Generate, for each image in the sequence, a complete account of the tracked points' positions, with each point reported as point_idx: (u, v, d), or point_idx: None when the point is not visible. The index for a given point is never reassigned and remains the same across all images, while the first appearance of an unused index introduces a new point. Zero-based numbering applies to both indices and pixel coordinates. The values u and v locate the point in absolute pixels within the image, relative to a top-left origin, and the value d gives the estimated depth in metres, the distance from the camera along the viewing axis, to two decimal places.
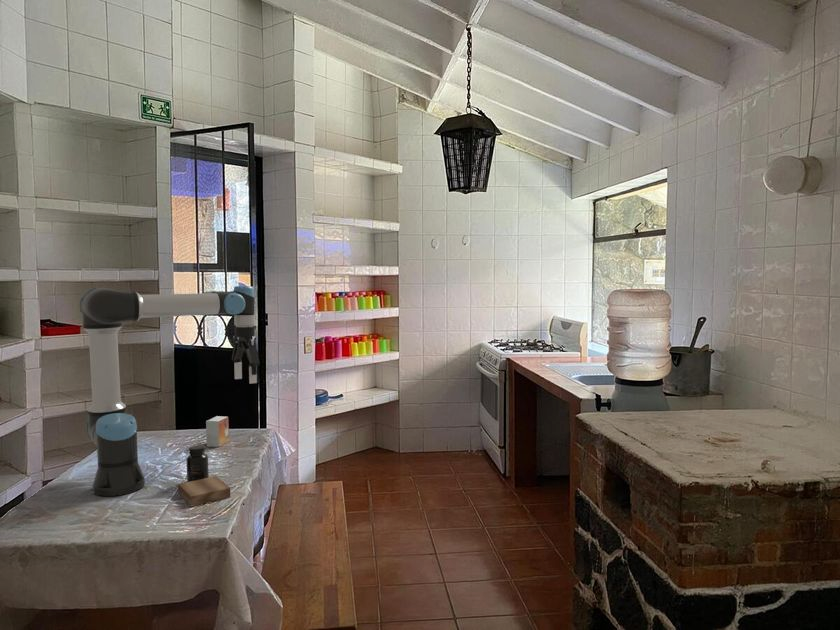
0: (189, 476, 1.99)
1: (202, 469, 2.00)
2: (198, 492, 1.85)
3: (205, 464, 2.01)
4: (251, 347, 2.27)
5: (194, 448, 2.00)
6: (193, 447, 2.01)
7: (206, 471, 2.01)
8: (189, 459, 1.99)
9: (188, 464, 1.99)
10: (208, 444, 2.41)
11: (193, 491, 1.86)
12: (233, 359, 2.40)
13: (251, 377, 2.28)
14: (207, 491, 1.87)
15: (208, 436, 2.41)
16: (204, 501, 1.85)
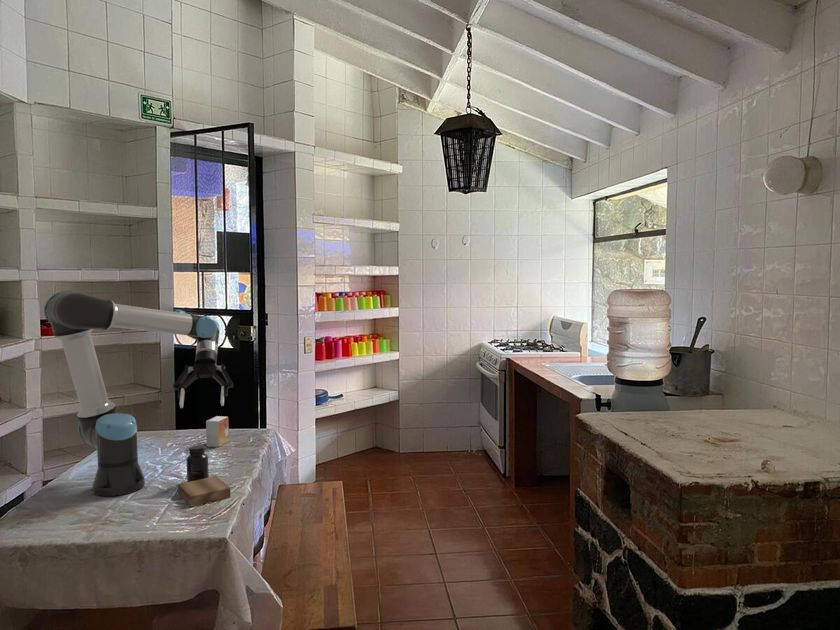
0: (189, 476, 1.99)
1: (202, 469, 2.00)
2: (198, 492, 1.85)
3: (206, 464, 2.01)
4: (225, 370, 2.21)
5: (194, 448, 2.00)
6: (193, 447, 2.01)
7: (206, 471, 2.01)
8: (189, 459, 1.99)
9: (188, 464, 1.99)
10: (208, 444, 2.41)
11: (193, 491, 1.86)
12: (176, 386, 2.14)
13: (223, 397, 2.14)
14: (207, 491, 1.87)
15: (208, 436, 2.41)
16: (204, 501, 1.85)
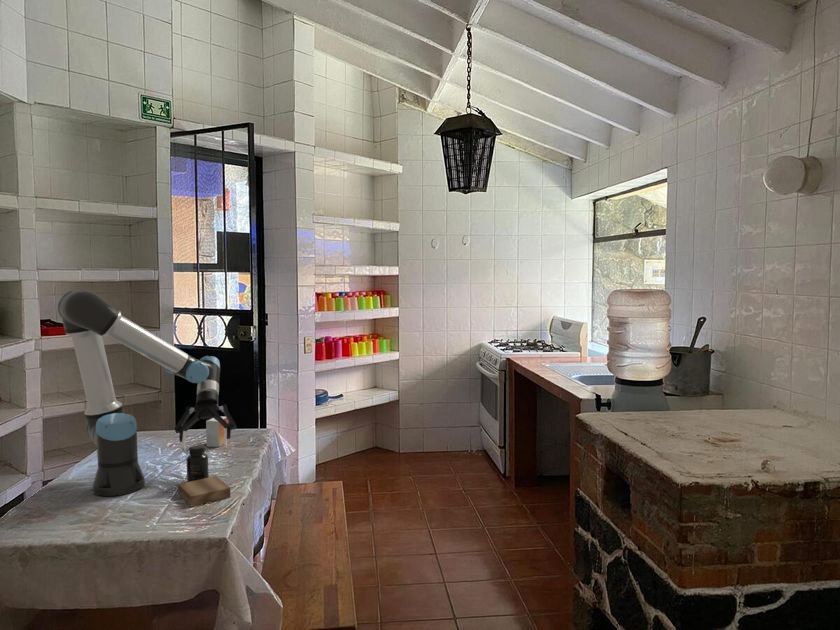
0: (189, 476, 1.99)
1: (202, 469, 2.00)
2: (198, 492, 1.85)
3: (206, 464, 2.01)
4: None
5: (194, 448, 2.00)
6: (193, 447, 2.01)
7: (206, 471, 2.01)
8: (189, 459, 1.99)
9: (188, 464, 1.99)
10: (208, 444, 2.41)
11: (193, 491, 1.86)
12: (177, 429, 2.09)
13: (226, 440, 2.10)
14: (207, 491, 1.87)
15: (208, 436, 2.41)
16: (204, 501, 1.85)
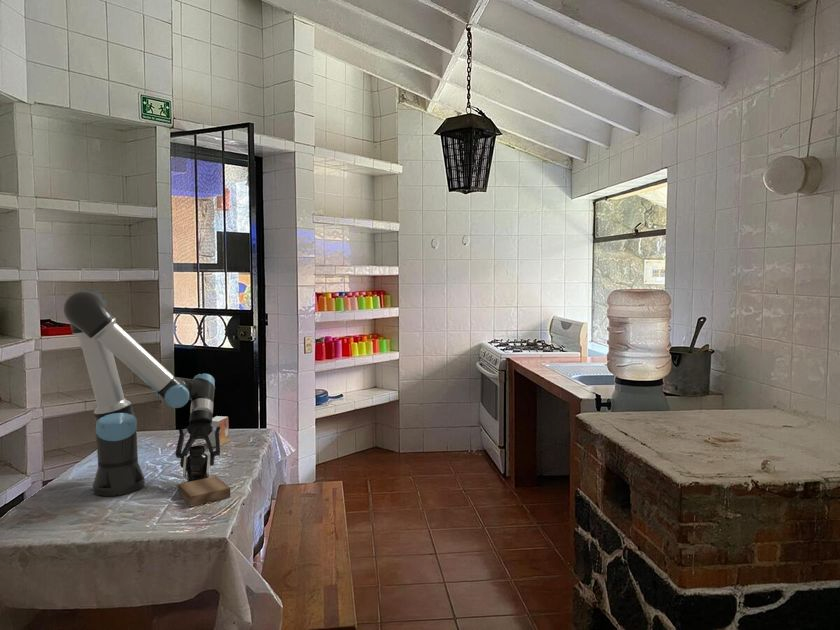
0: (189, 476, 1.99)
1: (202, 469, 2.00)
2: (198, 492, 1.85)
3: (205, 464, 2.01)
4: (218, 435, 2.08)
5: (194, 448, 2.00)
6: (193, 447, 2.01)
7: (206, 471, 2.01)
8: (189, 459, 1.99)
9: (188, 464, 1.99)
10: None
11: (193, 491, 1.86)
12: (178, 454, 2.01)
13: (209, 467, 2.00)
14: (207, 491, 1.87)
15: (208, 436, 2.41)
16: (204, 501, 1.85)
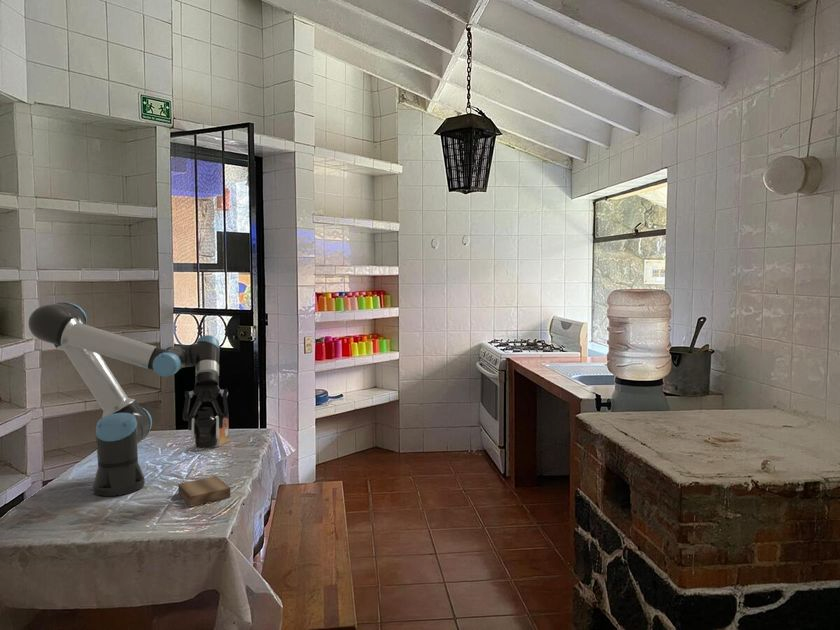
0: (197, 439, 1.92)
1: (211, 431, 1.93)
2: (198, 492, 1.85)
3: (214, 426, 1.94)
4: (226, 397, 2.01)
5: (202, 410, 1.93)
6: (201, 409, 1.94)
7: (215, 434, 1.94)
8: (197, 421, 1.92)
9: (196, 426, 1.92)
10: None
11: (193, 491, 1.86)
12: (186, 416, 1.94)
13: (218, 429, 1.93)
14: (207, 491, 1.87)
15: None
16: (204, 501, 1.85)
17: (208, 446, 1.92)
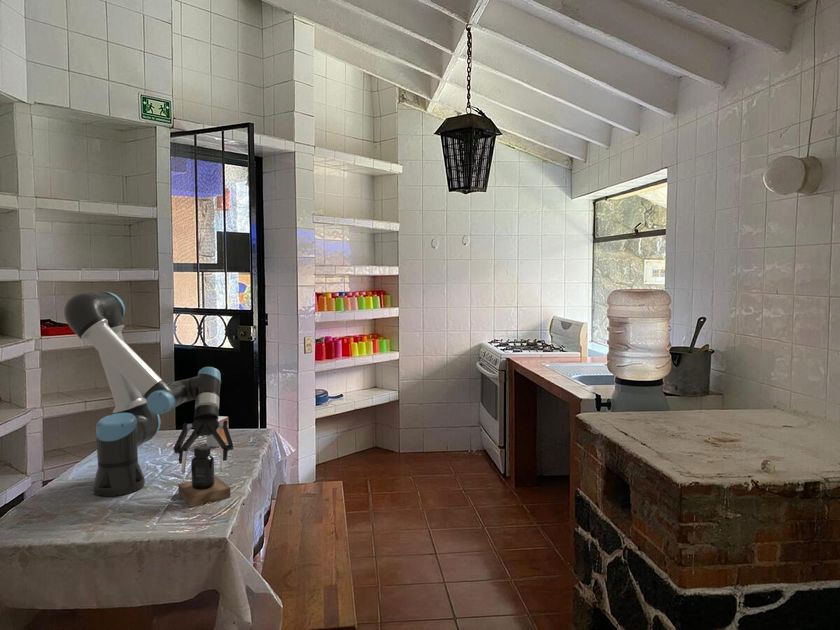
0: (194, 479, 1.88)
1: (208, 472, 1.88)
2: (198, 492, 1.85)
3: (211, 467, 1.90)
4: (227, 429, 1.97)
5: (199, 449, 1.89)
6: (198, 448, 1.90)
7: (212, 474, 1.90)
8: (194, 461, 1.88)
9: (193, 466, 1.88)
10: (208, 444, 2.41)
11: (193, 491, 1.86)
12: (177, 449, 1.90)
13: (222, 461, 1.90)
14: (207, 491, 1.87)
15: (208, 436, 2.41)
16: (204, 501, 1.85)
17: (204, 487, 1.88)
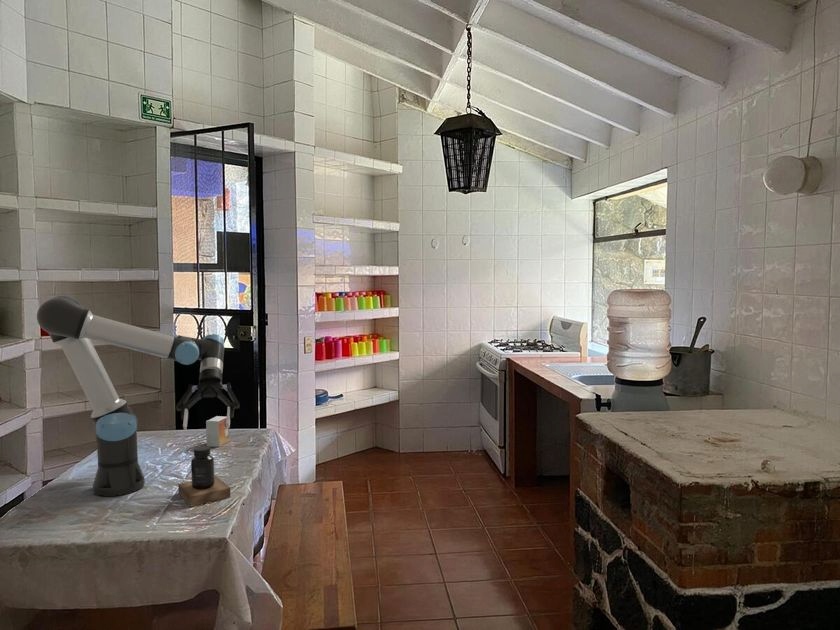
0: (194, 479, 1.88)
1: (208, 472, 1.88)
2: (198, 492, 1.85)
3: (211, 467, 1.90)
4: None
5: (199, 449, 1.89)
6: (198, 448, 1.90)
7: (212, 474, 1.90)
8: (194, 461, 1.88)
9: (193, 466, 1.88)
10: (208, 444, 2.41)
11: (193, 491, 1.86)
12: (179, 406, 2.02)
13: (229, 418, 2.02)
14: (207, 491, 1.87)
15: (208, 436, 2.41)
16: (204, 501, 1.85)
17: (204, 487, 1.88)
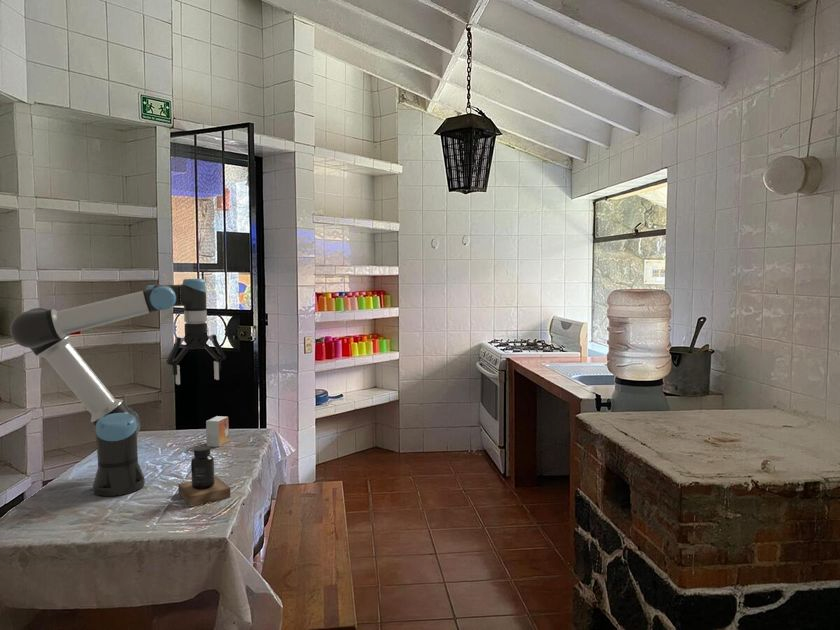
0: (194, 479, 1.88)
1: (208, 472, 1.88)
2: (198, 492, 1.85)
3: (211, 467, 1.90)
4: None
5: (199, 449, 1.89)
6: (198, 448, 1.90)
7: (212, 474, 1.90)
8: (194, 461, 1.88)
9: (193, 466, 1.88)
10: (208, 444, 2.41)
11: (193, 491, 1.86)
12: (171, 363, 2.10)
13: None
14: (207, 491, 1.87)
15: (208, 436, 2.41)
16: (204, 501, 1.85)
17: (204, 487, 1.88)
